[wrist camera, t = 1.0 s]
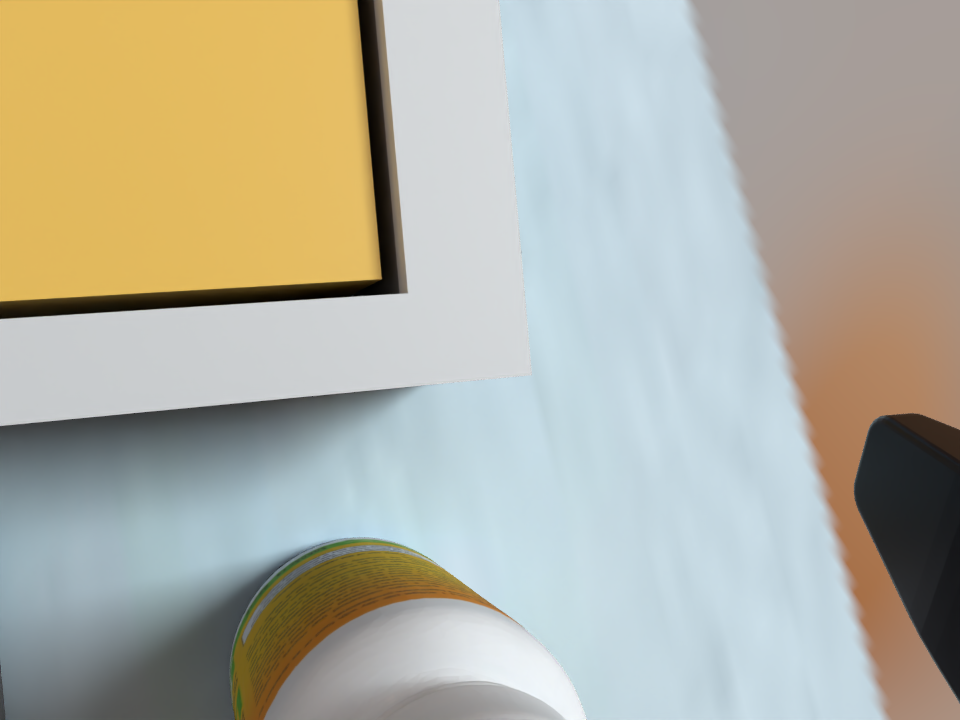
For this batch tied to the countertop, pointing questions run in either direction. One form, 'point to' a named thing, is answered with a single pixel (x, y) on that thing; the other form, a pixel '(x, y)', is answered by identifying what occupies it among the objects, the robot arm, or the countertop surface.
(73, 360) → the box
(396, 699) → the supplement bottle
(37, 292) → the button
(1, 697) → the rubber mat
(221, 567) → the countertop surface
